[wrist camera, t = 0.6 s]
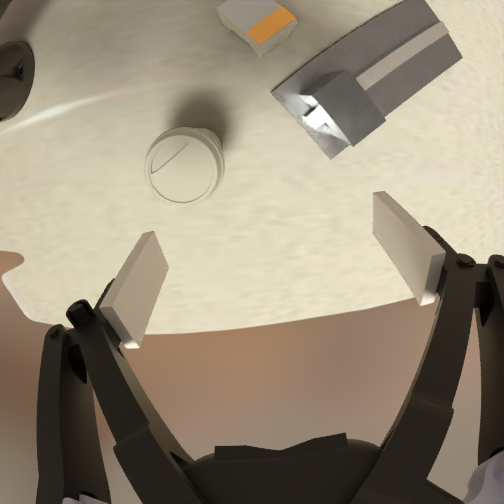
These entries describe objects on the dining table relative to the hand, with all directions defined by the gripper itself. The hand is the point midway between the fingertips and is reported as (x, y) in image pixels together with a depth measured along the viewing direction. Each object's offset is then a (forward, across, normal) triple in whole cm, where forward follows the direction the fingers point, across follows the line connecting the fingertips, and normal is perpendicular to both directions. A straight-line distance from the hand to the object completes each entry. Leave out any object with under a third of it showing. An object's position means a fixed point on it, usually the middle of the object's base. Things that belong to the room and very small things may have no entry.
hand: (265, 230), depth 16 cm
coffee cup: (+24, -8, +2) cm, 25 cm away
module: (+24, +3, +17) cm, 29 cm away
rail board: (+24, +19, +10) cm, 32 cm away
